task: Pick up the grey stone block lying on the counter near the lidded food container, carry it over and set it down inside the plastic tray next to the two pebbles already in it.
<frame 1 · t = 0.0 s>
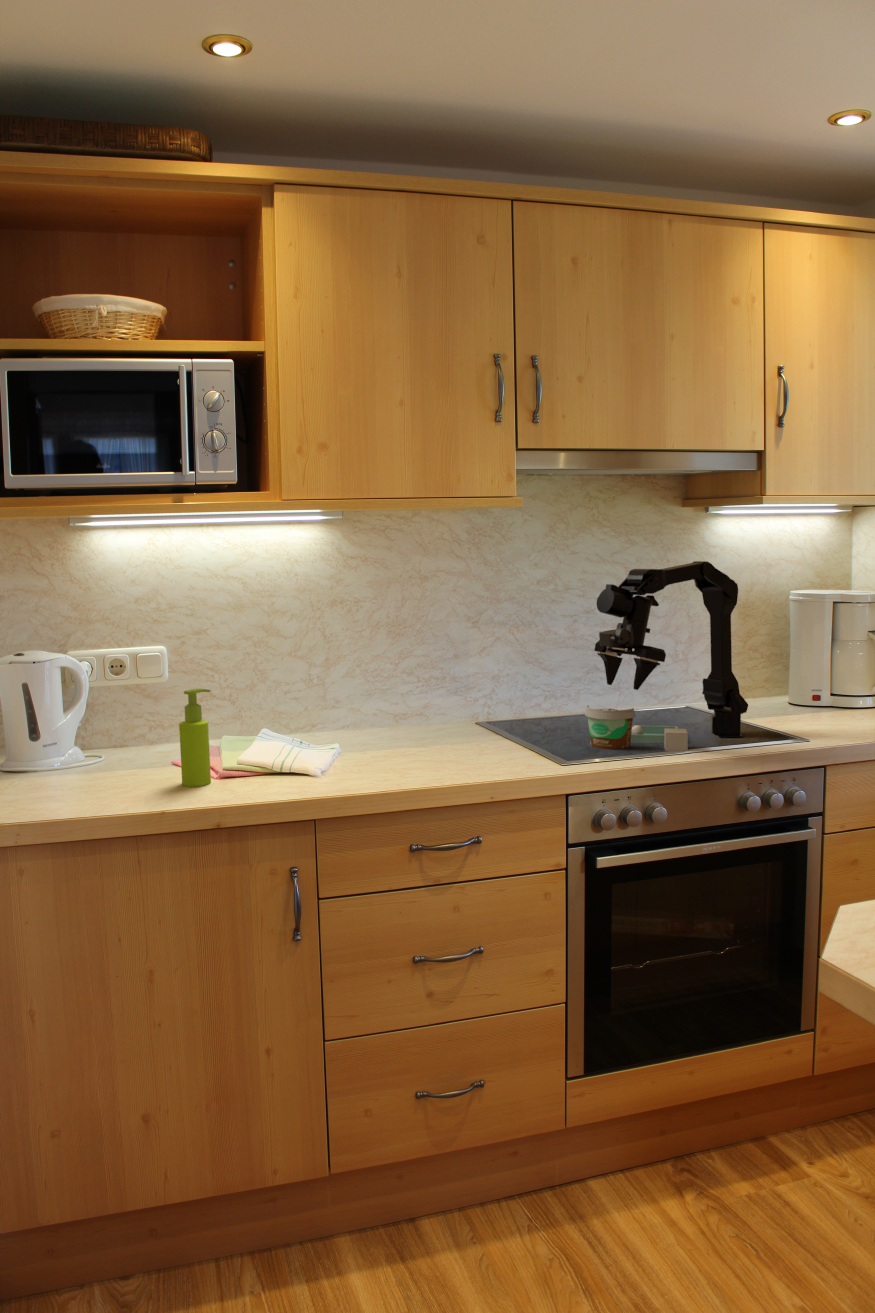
hand: (622, 687, 218), 15 cm above the countertop, tool pointing down, fingers open, 9 cm apart
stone: (675, 751, 219), on the countertop
pebble a: (636, 736, 235), point 1 cm above the countertop, touching tray
tray: (651, 740, 232), on the countertop
food container: (606, 750, 222), on the countertop
soap dispenser: (198, 783, 197), on the countertop
pebble b: (637, 739, 231), point 1 cm above the countertop, touching tray
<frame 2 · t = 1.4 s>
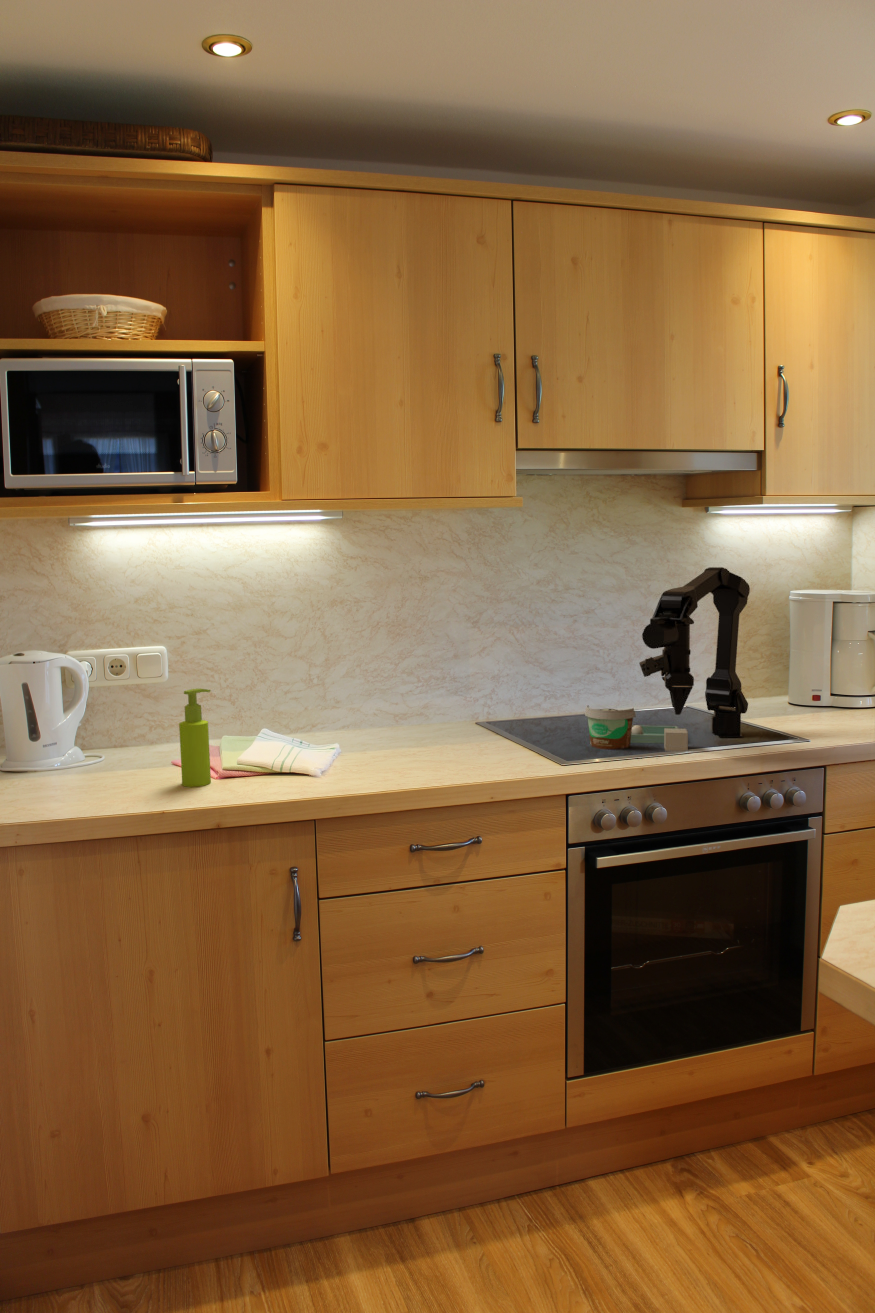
hand: (676, 711, 218), 10 cm above the countertop, tool pointing down, fingers open, 9 cm apart
nothing on the countertop moved.
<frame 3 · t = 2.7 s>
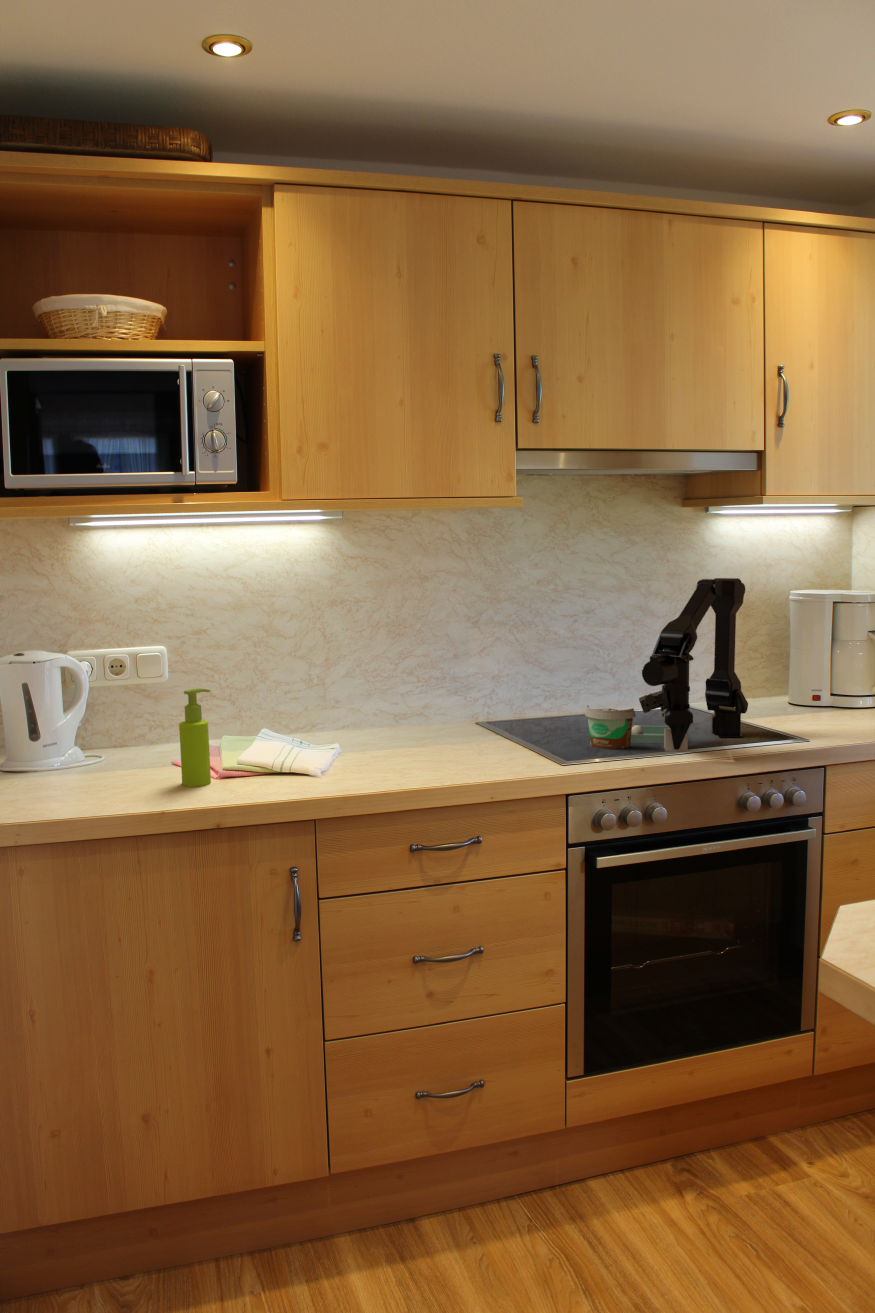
hand: (675, 746, 219), 1 cm above the countertop, tool pointing down, fingers closed on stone, 5 cm apart
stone: (675, 751, 219), on the countertop, touching gripper
everything else where it was.
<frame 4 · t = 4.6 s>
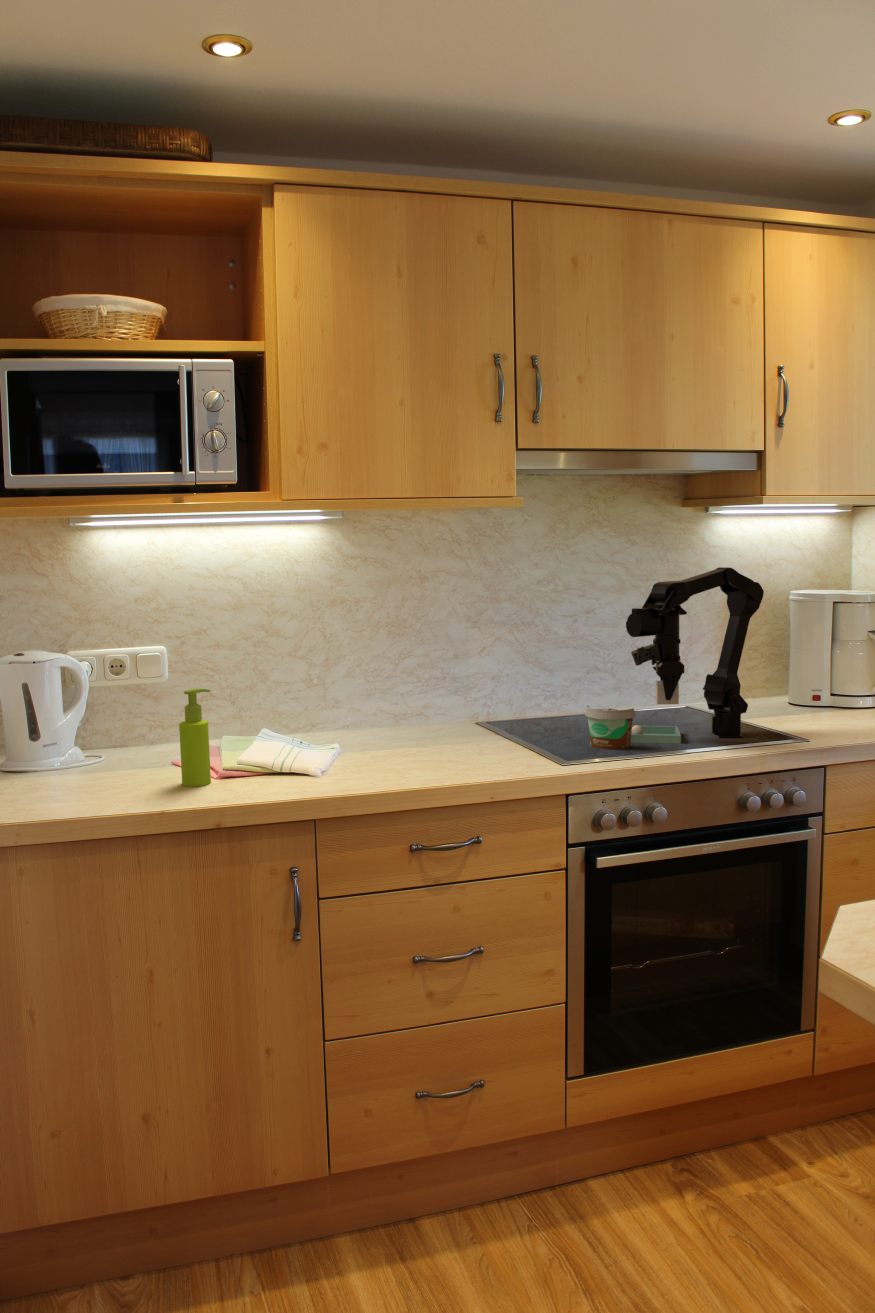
hand: (667, 698, 226), 11 cm above the countertop, tool pointing down, fingers closed on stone, 5 cm apart
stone: (667, 702, 227), point 10 cm above the countertop, touching gripper
everything else where it was.
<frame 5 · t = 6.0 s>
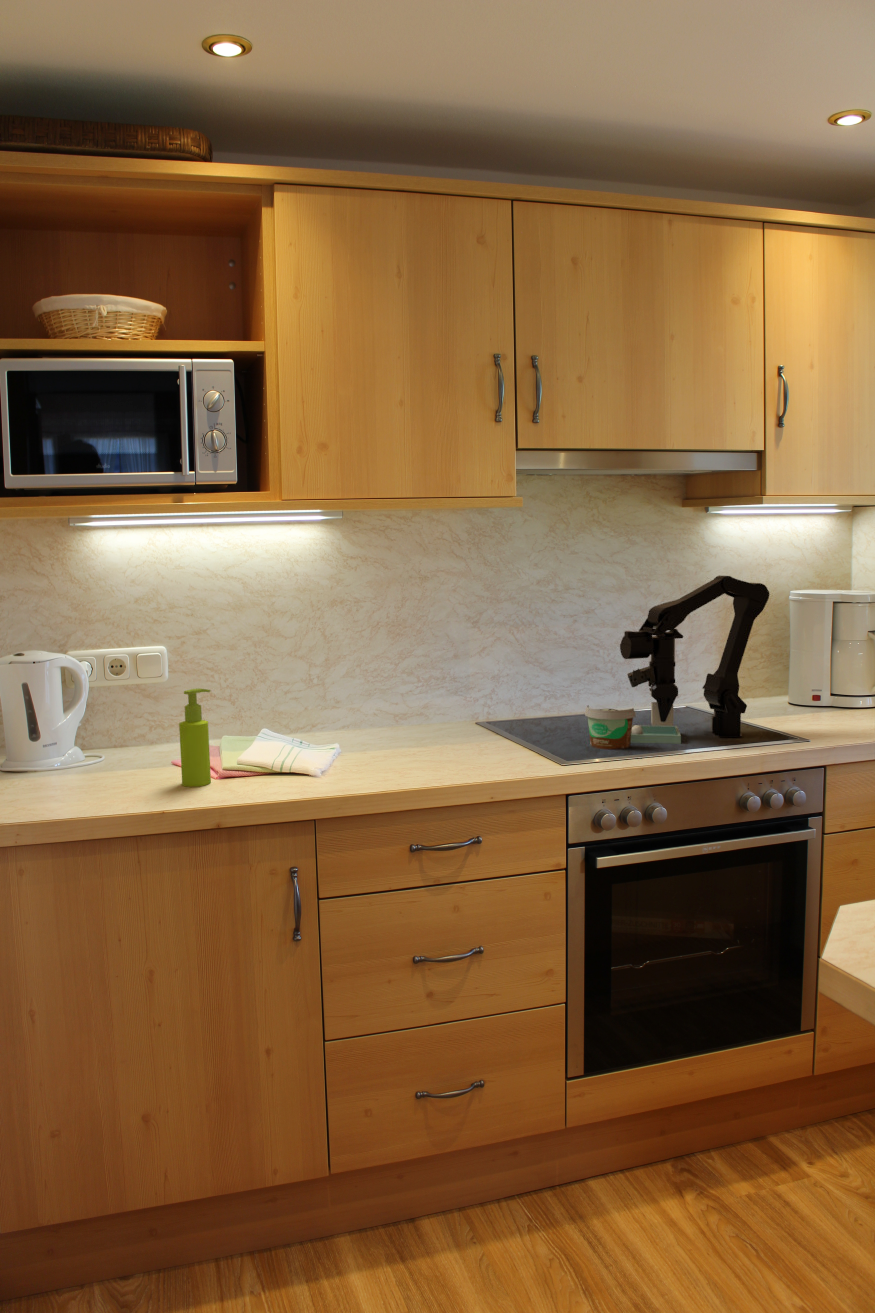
hand: (662, 719, 231), 5 cm above the countertop, tool pointing down, fingers closed on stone, 5 cm apart
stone: (662, 723, 231), point 4 cm above the countertop, touching gripper
everything else where it was.
when the fingers open (3 cm above the countertop, at t = 6.8 s): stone drops 2 cm, resting on tray.
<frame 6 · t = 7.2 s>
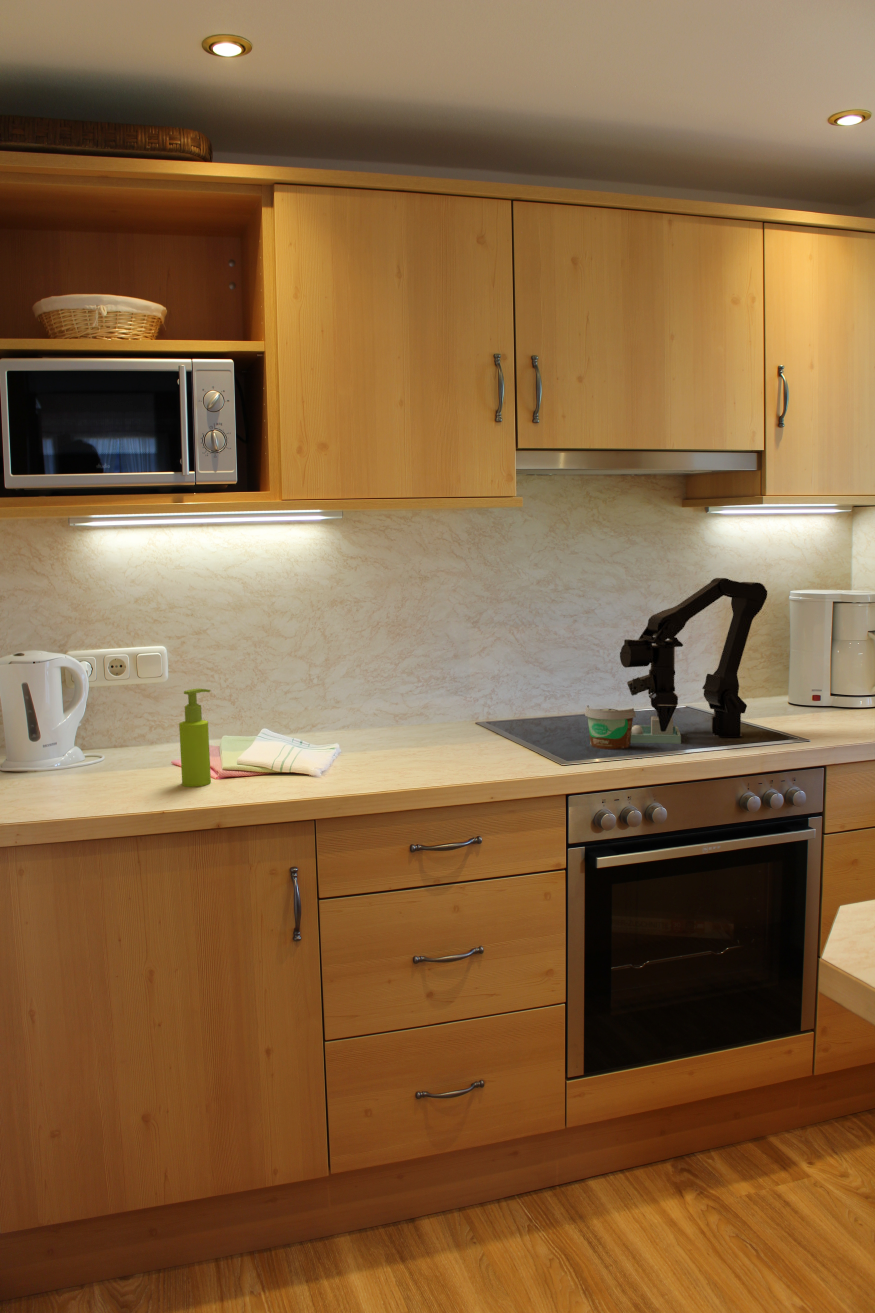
hand: (662, 727, 231), 3 cm above the countertop, tool pointing down, fingers open, 9 cm apart
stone: (661, 738, 232), point 1 cm above the countertop, touching tray
everything else where it was.
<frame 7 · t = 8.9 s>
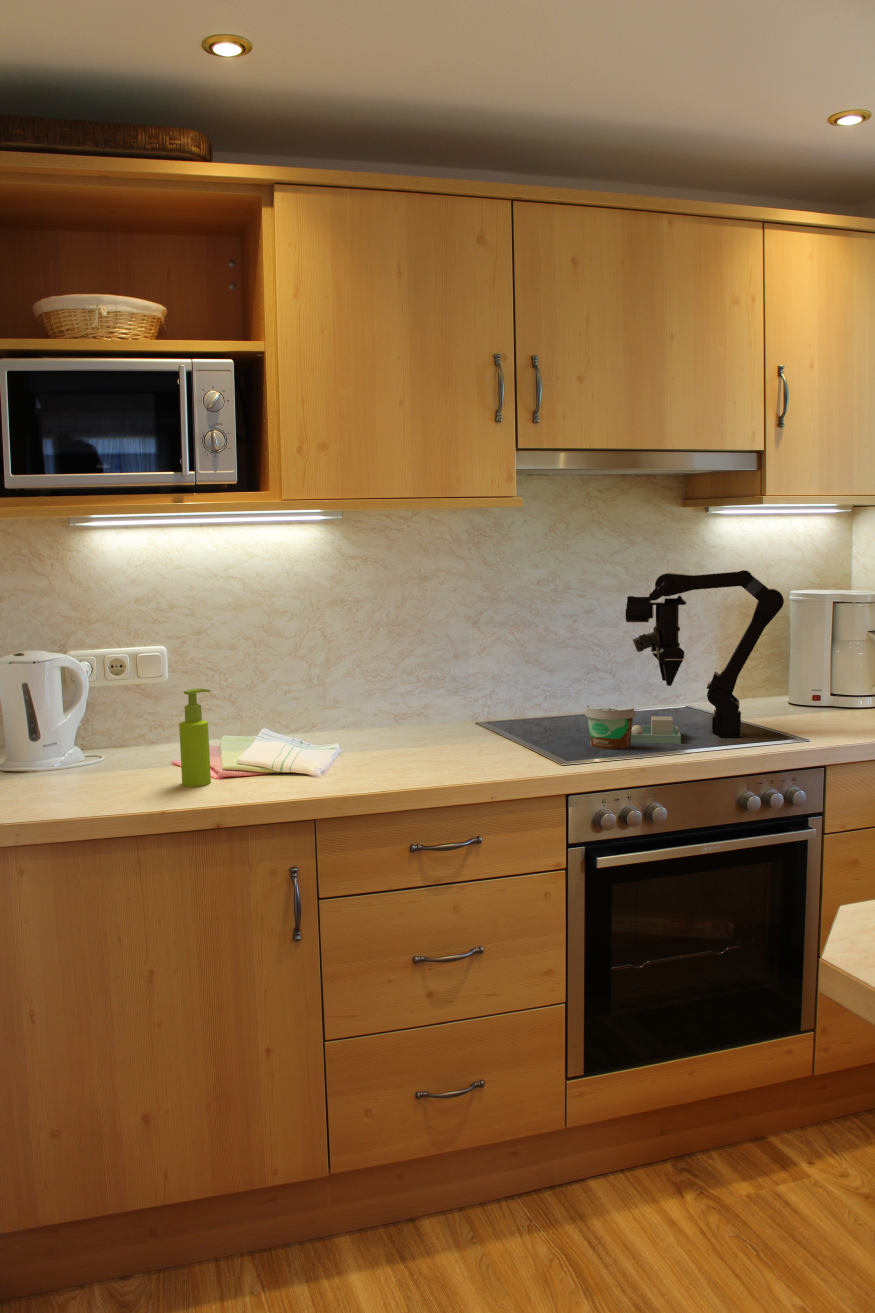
hand: (666, 683, 240), 13 cm above the countertop, tool pointing down, fingers open, 9 cm apart
nothing on the countertop moved.
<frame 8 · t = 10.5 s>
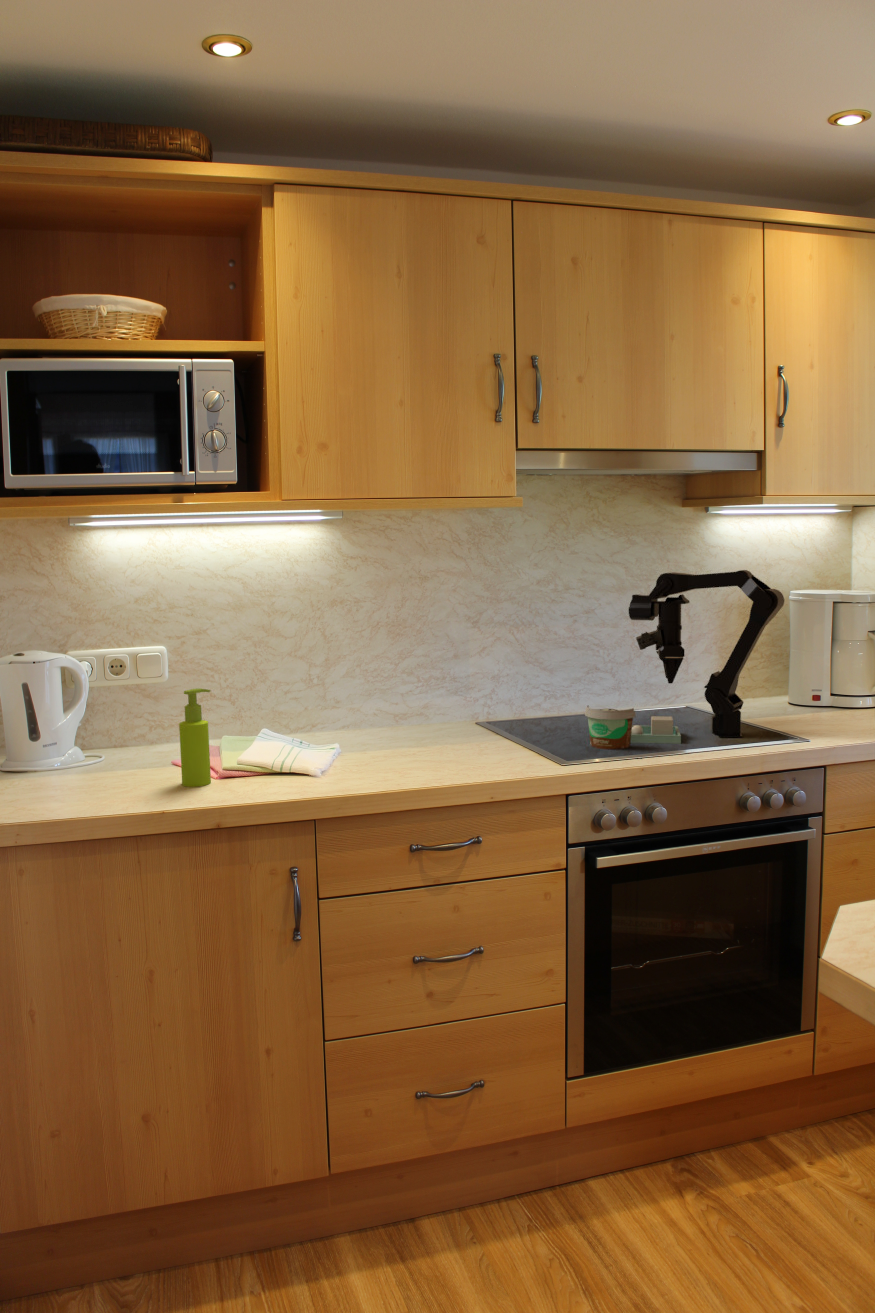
hand: (669, 680, 243), 13 cm above the countertop, tool pointing down, fingers open, 9 cm apart
nothing on the countertop moved.
at the end: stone inside the target area on the tray (2.5 cm from its centre), point 0.6 cm above the tray's base; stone tilted 0°; the gripper is holding nothing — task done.
